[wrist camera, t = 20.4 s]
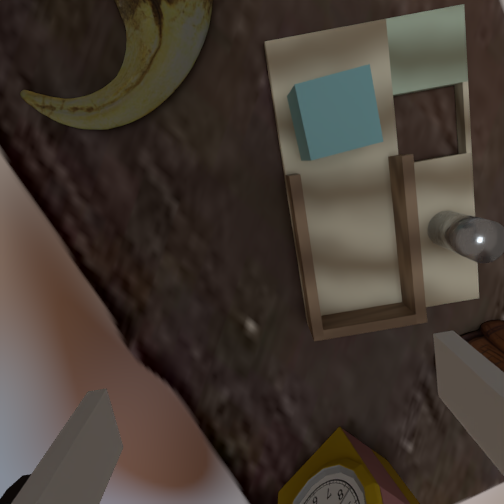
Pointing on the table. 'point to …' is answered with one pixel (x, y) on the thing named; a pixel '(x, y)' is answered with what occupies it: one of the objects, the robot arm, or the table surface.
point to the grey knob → (467, 235)
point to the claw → (138, 65)
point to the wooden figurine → (488, 342)
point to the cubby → (408, 260)
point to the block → (335, 113)
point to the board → (378, 159)
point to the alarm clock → (345, 476)
